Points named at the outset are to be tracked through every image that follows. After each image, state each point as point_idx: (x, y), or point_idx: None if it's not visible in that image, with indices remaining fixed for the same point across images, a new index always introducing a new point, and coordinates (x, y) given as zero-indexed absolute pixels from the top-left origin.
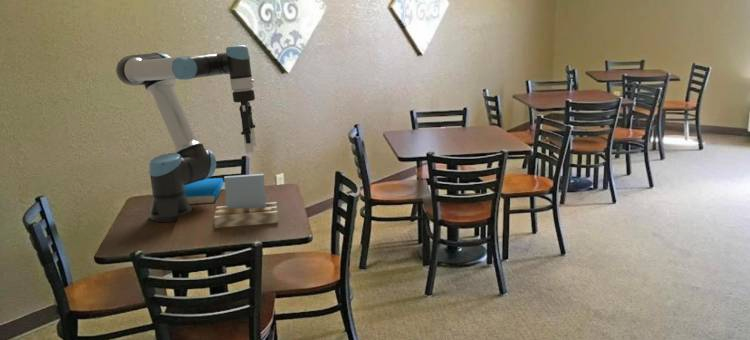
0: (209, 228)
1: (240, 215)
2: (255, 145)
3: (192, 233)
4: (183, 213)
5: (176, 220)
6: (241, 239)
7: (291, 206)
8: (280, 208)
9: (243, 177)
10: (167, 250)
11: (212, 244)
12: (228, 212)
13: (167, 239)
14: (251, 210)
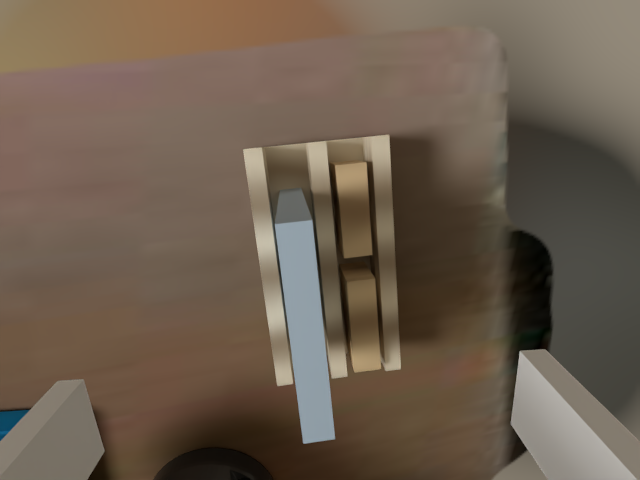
0: (350, 365)
1: (396, 281)
2: (82, 386)
3: (385, 402)
4: (250, 473)
5: (269, 474)
6: (470, 251)
7: (129, 93)
8: (155, 142)
9: (323, 338)
10: (502, 431)
11: (489, 328)
12: (377, 329)
13: (420, 453)
14: (366, 245)
